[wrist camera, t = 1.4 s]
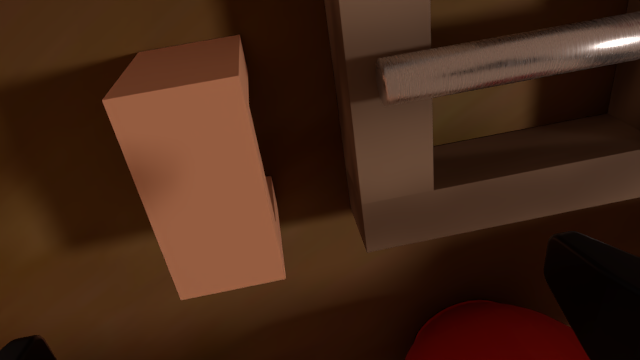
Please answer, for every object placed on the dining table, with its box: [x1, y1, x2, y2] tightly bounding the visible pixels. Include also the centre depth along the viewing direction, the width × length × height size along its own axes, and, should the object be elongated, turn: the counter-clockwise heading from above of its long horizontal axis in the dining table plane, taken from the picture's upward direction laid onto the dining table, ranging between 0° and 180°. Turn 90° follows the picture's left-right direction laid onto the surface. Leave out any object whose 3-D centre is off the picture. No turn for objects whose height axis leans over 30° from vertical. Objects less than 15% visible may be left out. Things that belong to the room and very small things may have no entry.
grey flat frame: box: [324, 0, 640, 252], centre depth 18 cm, size 15×16×4 cm
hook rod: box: [376, 11, 640, 107], centre depth 16 cm, size 2×14×2 cm, turn 98°
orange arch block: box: [102, 35, 286, 300], centre depth 18 cm, size 8×4×6 cm, turn 8°
